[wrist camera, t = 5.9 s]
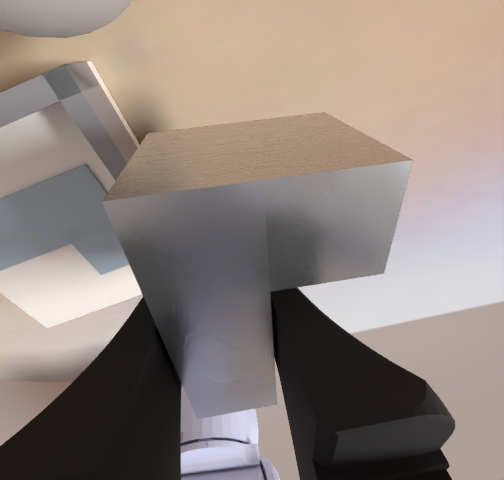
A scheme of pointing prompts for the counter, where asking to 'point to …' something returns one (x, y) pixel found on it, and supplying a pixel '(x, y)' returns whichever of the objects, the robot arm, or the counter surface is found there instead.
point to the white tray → (62, 195)
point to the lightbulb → (58, 16)
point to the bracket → (249, 237)
